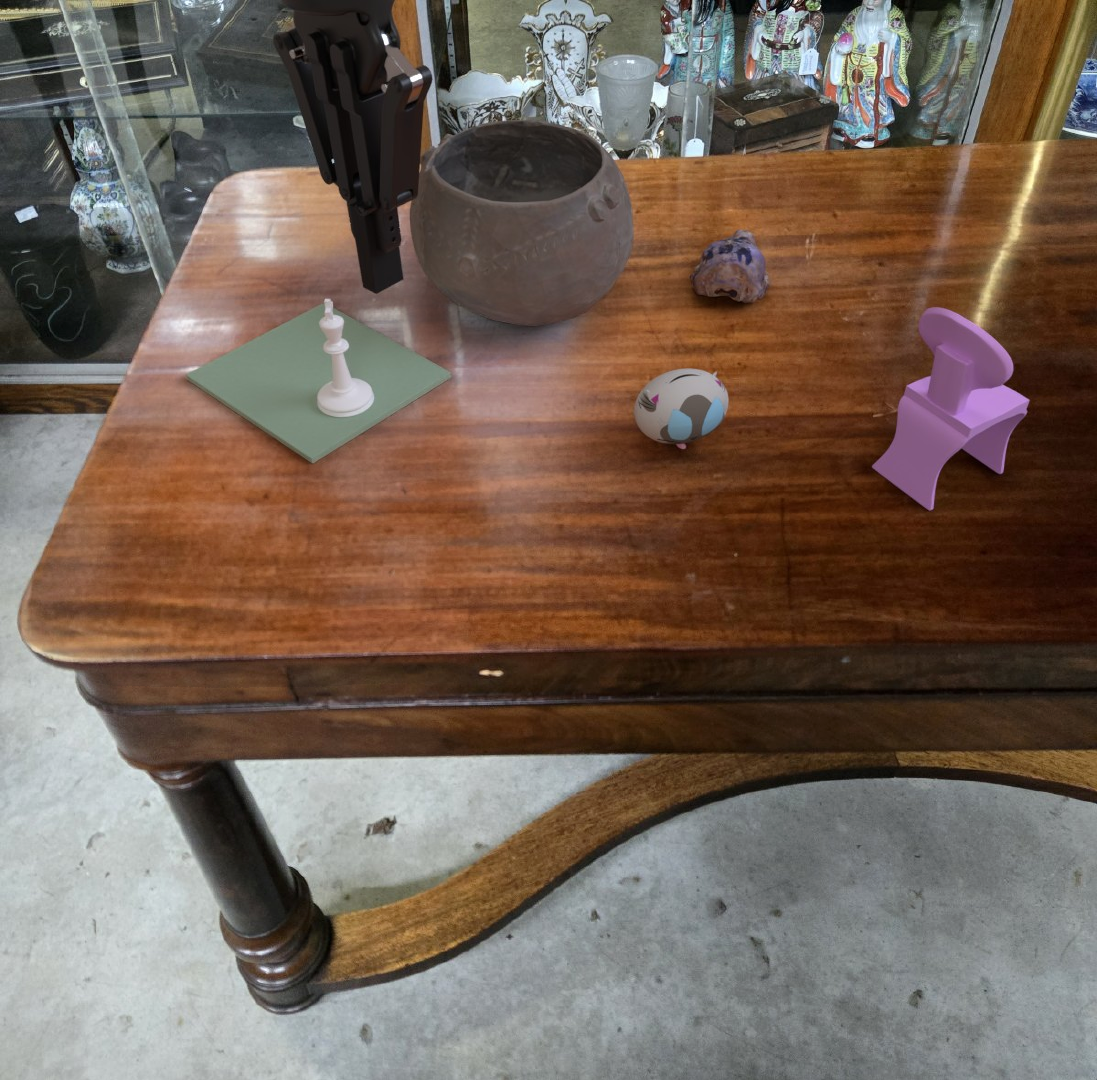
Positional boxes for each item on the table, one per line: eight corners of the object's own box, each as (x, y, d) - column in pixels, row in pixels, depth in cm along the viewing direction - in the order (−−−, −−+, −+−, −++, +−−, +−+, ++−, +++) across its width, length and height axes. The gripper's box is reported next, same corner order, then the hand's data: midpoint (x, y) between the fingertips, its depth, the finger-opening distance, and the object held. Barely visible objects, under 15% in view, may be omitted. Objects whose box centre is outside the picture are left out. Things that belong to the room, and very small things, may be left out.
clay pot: (664, 332, 98) (675, 181, 88) (453, 379, 94) (438, 225, 83) (583, 232, 113) (584, 91, 102) (396, 268, 108) (377, 124, 97)
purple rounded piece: (717, 242, 110) (729, 190, 105) (785, 266, 108) (802, 215, 103) (675, 303, 102) (687, 250, 98) (748, 330, 101) (764, 277, 96)
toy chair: (1017, 478, 83) (1082, 315, 72) (939, 518, 80) (995, 355, 69) (938, 423, 88) (988, 265, 78) (862, 460, 85) (903, 299, 74)
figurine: (650, 475, 84) (654, 409, 79) (619, 432, 88) (622, 367, 83) (737, 451, 86) (747, 385, 81) (704, 410, 90) (711, 345, 85)
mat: (312, 464, 86) (311, 458, 85) (187, 379, 94) (185, 374, 94) (451, 377, 94) (451, 372, 93) (324, 307, 103) (323, 302, 102)
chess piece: (376, 382, 92) (360, 283, 85) (371, 416, 89) (354, 315, 82) (321, 384, 92) (300, 285, 85) (314, 418, 89) (292, 317, 82)
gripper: (454, -70, 59) (481, 292, 76) (310, -106, 66) (364, 236, 82) (353, -38, 55) (405, 336, 72) (210, -80, 62) (288, 273, 78)
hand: (383, 282), depth 77 cm, fingers closed
